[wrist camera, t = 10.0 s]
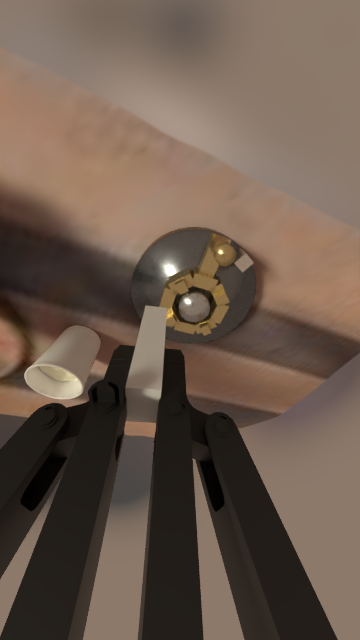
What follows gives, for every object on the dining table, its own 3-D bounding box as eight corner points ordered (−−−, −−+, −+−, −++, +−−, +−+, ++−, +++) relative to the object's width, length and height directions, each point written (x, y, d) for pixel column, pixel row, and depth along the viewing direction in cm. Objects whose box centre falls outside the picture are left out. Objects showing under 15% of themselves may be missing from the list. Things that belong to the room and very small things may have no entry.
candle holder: (112, 348, 45) (94, 393, 35) (78, 358, 47) (52, 403, 37) (87, 316, 40) (57, 358, 30) (50, 329, 42) (10, 373, 32)
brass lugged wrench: (209, 329, 38) (215, 355, 32) (155, 315, 36) (151, 340, 30) (252, 245, 29) (271, 260, 23) (183, 220, 27) (184, 230, 21)
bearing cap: (126, 321, 41) (118, 343, 35) (146, 207, 29) (138, 212, 23) (221, 343, 44) (227, 366, 39) (274, 250, 32) (294, 264, 27)
